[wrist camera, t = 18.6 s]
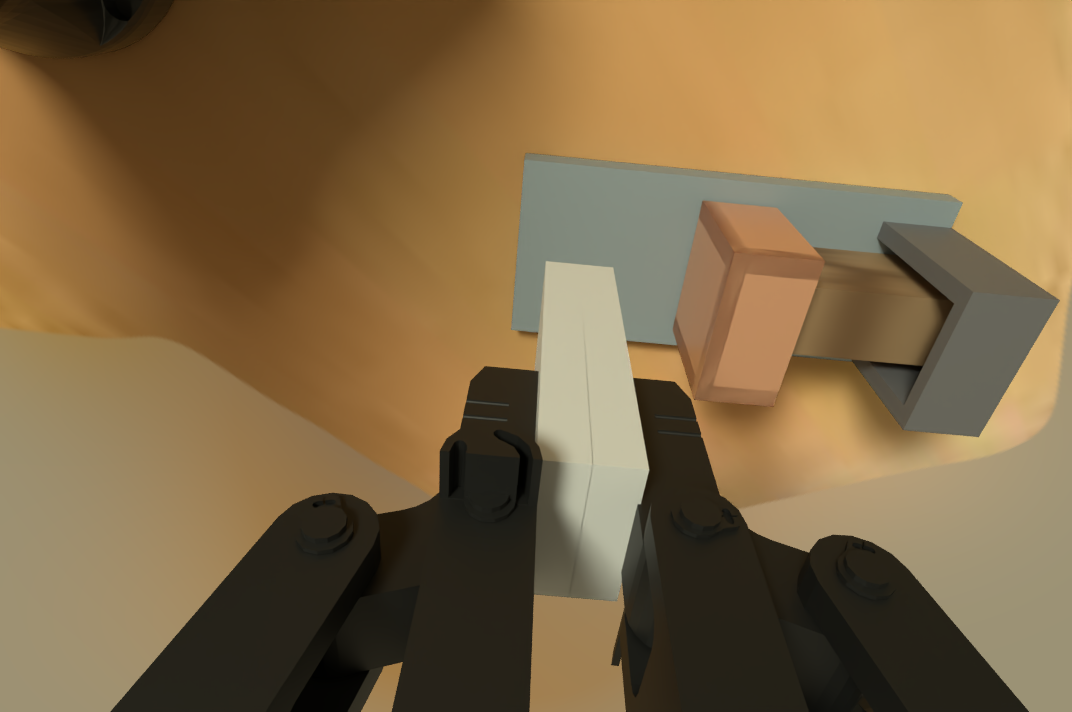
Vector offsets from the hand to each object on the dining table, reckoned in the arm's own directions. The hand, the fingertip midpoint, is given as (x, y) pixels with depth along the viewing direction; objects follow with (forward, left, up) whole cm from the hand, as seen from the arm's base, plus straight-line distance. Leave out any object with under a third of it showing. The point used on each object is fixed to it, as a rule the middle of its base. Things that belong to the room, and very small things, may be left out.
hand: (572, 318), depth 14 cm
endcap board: (+10, -8, -24) cm, 28 cm away
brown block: (+16, -8, -23) cm, 29 cm away
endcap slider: (+10, -8, -23) cm, 26 cm away
